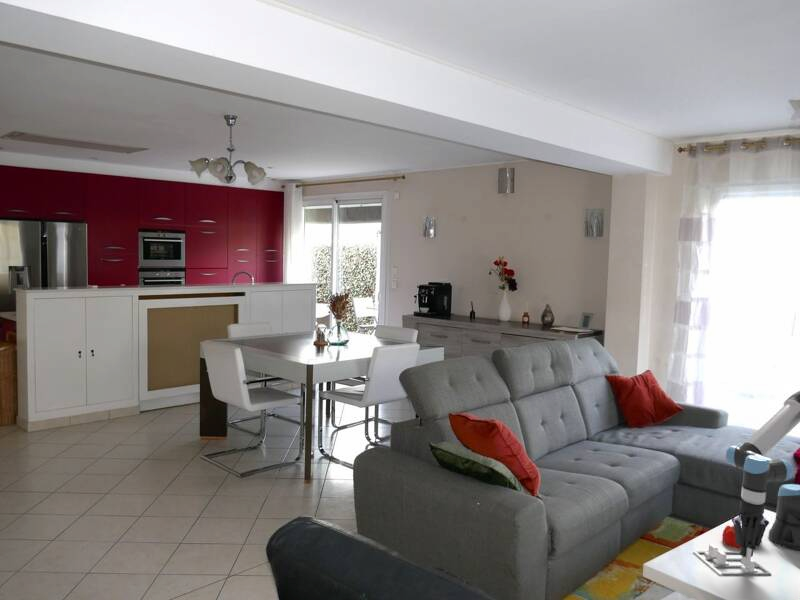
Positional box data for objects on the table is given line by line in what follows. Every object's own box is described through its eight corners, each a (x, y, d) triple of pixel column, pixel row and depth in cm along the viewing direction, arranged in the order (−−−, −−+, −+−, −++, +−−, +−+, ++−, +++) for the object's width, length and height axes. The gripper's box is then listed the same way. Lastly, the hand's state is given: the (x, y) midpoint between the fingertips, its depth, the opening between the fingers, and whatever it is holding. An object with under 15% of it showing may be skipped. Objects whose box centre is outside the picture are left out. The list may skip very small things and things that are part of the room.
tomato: (733, 540, 254) (735, 522, 253) (752, 551, 245) (754, 532, 245) (715, 543, 250) (717, 524, 250) (734, 553, 242) (736, 534, 241)
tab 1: (714, 554, 237) (715, 543, 236) (720, 559, 233) (721, 548, 233) (704, 554, 236) (705, 543, 236) (709, 559, 233) (711, 548, 233)
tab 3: (751, 568, 228) (752, 557, 227) (757, 573, 224) (758, 562, 224) (740, 568, 227) (742, 557, 227) (747, 573, 224) (748, 562, 224)
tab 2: (723, 561, 232) (724, 550, 231) (728, 566, 228) (730, 555, 228) (712, 561, 231) (714, 550, 231) (718, 566, 228) (719, 555, 228)
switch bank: (742, 556, 240) (742, 551, 239) (771, 579, 224) (772, 573, 224) (692, 556, 237) (692, 551, 237) (718, 579, 221) (719, 573, 221)
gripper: (762, 496, 228) (755, 559, 230) (728, 495, 226) (721, 559, 228) (777, 505, 220) (769, 570, 223) (742, 504, 219) (735, 570, 221)
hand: (745, 564), depth 225 cm, fingers closed
